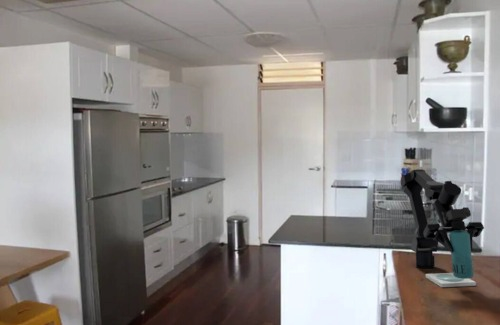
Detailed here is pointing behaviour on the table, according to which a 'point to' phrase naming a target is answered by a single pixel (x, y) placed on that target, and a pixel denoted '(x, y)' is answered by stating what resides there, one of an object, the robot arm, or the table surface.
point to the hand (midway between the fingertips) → (461, 251)
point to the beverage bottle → (461, 251)
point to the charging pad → (449, 280)
